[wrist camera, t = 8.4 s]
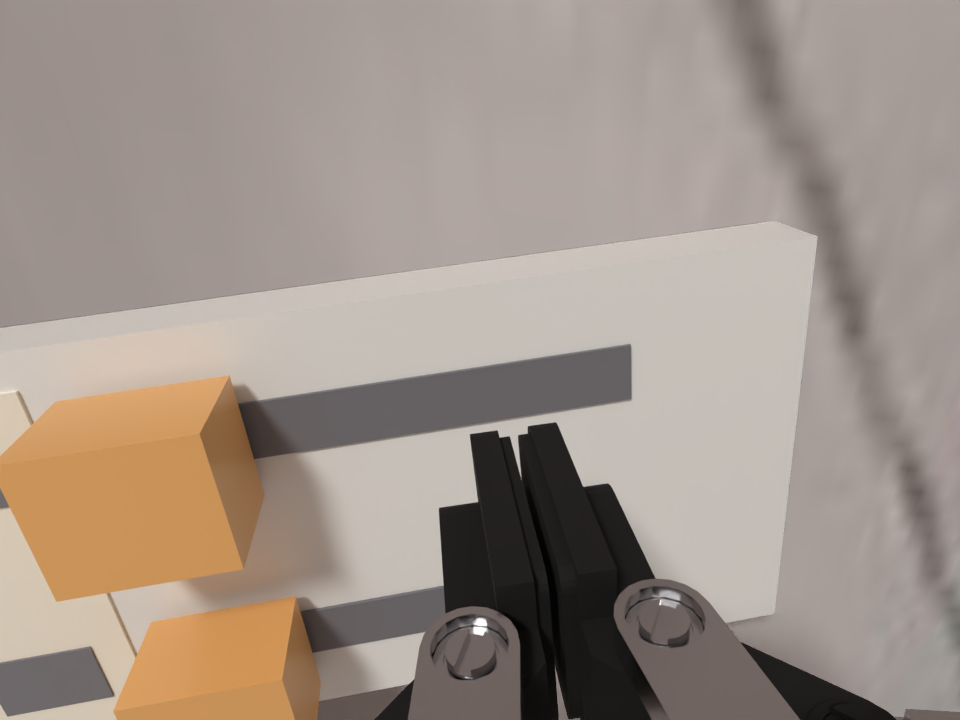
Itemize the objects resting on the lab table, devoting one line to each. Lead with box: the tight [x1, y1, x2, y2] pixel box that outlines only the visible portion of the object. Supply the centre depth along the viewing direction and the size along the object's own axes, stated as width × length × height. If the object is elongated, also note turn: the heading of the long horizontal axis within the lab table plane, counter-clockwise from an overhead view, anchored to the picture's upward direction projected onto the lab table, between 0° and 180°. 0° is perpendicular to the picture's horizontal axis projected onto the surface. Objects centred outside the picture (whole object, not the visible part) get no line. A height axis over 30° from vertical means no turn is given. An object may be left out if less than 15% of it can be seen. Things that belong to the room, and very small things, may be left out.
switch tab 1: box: [0, 375, 265, 602], centre depth 15 cm, size 4×4×3 cm
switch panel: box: [0, 221, 818, 720], centre depth 19 cm, size 26×13×2 cm, turn 96°
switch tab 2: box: [113, 596, 321, 720], centre depth 18 cm, size 4×4×3 cm
